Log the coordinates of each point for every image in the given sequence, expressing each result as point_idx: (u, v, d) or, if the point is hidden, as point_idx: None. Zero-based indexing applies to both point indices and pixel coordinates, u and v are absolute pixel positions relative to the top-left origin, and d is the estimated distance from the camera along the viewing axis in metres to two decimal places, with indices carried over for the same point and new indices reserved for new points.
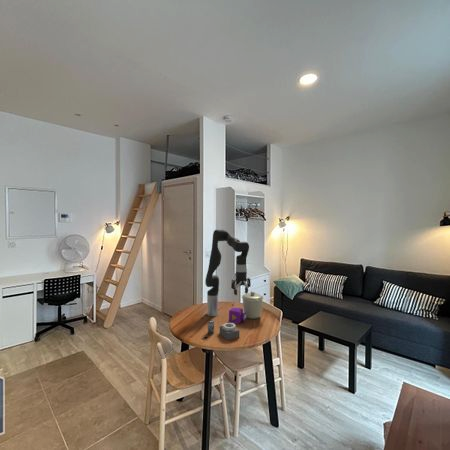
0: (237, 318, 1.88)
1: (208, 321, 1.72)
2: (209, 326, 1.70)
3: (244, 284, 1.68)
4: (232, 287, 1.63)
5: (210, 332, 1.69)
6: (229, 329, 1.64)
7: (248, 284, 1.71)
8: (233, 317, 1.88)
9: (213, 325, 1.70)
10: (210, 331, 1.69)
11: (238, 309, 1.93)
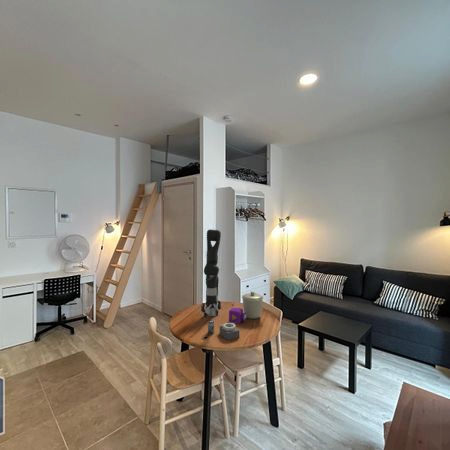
0: (237, 318, 1.88)
1: (208, 321, 1.72)
2: (209, 326, 1.70)
3: None
4: (202, 310, 1.68)
5: (210, 332, 1.69)
6: (229, 329, 1.64)
7: None
8: (233, 317, 1.88)
9: (213, 325, 1.70)
10: (210, 331, 1.69)
11: (238, 309, 1.93)
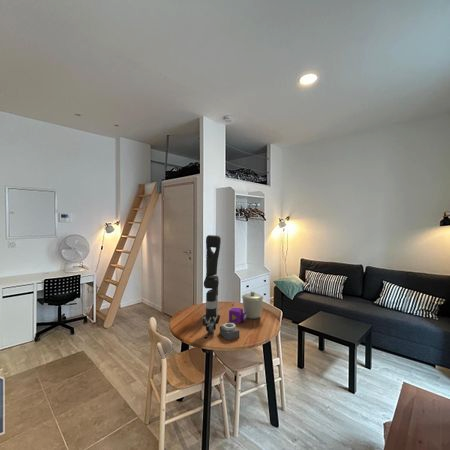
0: (237, 318, 1.88)
1: None
2: (209, 326, 1.70)
3: (213, 320, 1.73)
4: (204, 324, 1.69)
5: (210, 332, 1.69)
6: (229, 329, 1.64)
7: None
8: (233, 317, 1.88)
9: (213, 325, 1.70)
10: (210, 331, 1.69)
11: (238, 309, 1.93)
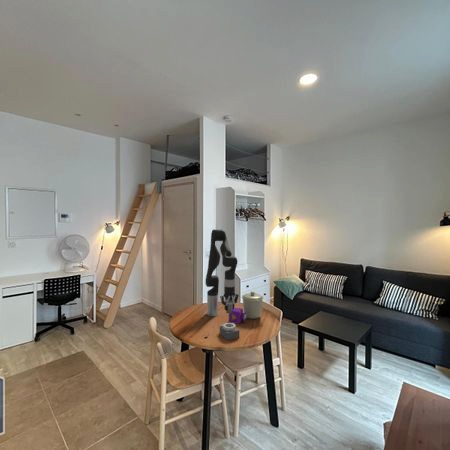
0: (237, 318, 1.88)
1: None
2: (228, 305, 1.66)
3: (231, 299, 1.69)
4: (222, 303, 1.66)
5: (229, 311, 1.66)
6: (229, 329, 1.64)
7: (235, 300, 1.71)
8: (233, 317, 1.88)
9: (232, 304, 1.67)
10: (229, 310, 1.66)
11: (238, 309, 1.93)
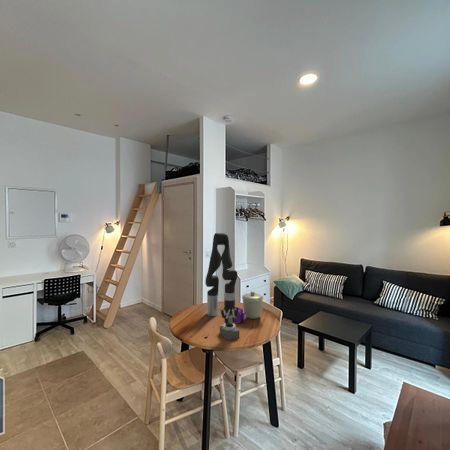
0: (237, 318, 1.88)
1: None
2: (228, 318, 1.66)
3: (231, 312, 1.69)
4: (222, 316, 1.66)
5: (229, 324, 1.66)
6: (229, 329, 1.64)
7: (235, 313, 1.71)
8: None
9: (232, 317, 1.67)
10: (229, 323, 1.66)
11: (238, 309, 1.93)
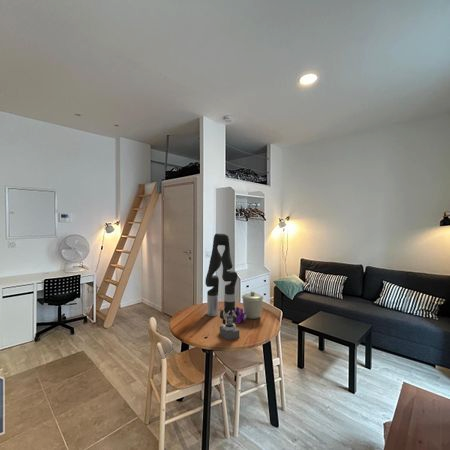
0: (237, 318, 1.88)
1: (227, 316, 1.69)
2: (228, 321, 1.66)
3: None
4: (221, 317, 1.65)
5: None
6: (229, 329, 1.64)
7: None
8: None
9: (232, 320, 1.67)
10: (229, 326, 1.66)
11: None
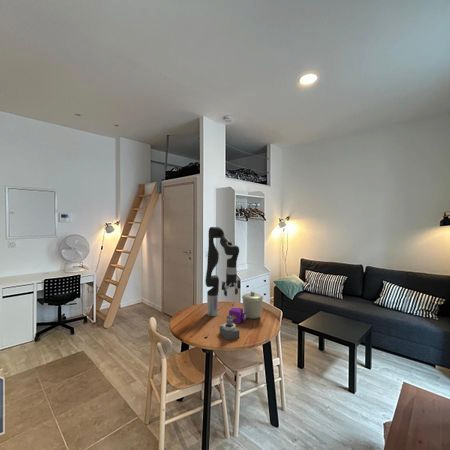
0: (237, 318, 1.88)
1: (227, 316, 1.69)
2: (228, 321, 1.66)
3: None
4: (222, 288, 1.72)
5: None
6: (229, 329, 1.64)
7: None
8: (233, 317, 1.88)
9: (232, 320, 1.67)
10: (229, 326, 1.66)
11: (238, 309, 1.93)
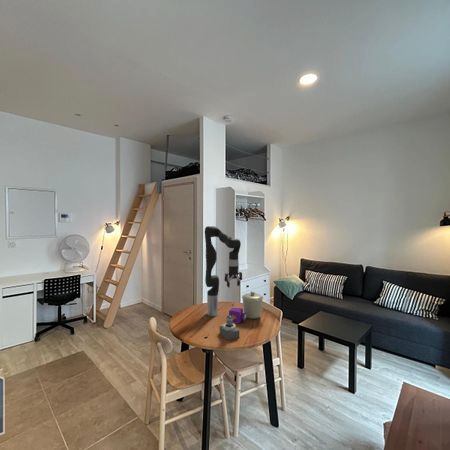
0: (237, 318, 1.88)
1: (227, 316, 1.69)
2: (228, 321, 1.66)
3: None
4: (225, 280, 1.80)
5: None
6: (229, 329, 1.64)
7: None
8: (233, 317, 1.88)
9: (232, 320, 1.67)
10: (229, 326, 1.66)
11: (238, 309, 1.93)
